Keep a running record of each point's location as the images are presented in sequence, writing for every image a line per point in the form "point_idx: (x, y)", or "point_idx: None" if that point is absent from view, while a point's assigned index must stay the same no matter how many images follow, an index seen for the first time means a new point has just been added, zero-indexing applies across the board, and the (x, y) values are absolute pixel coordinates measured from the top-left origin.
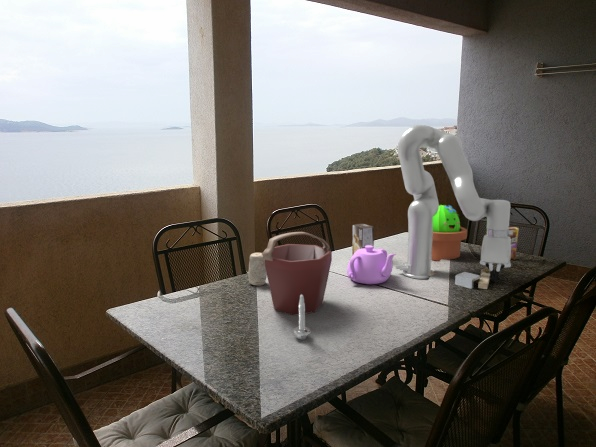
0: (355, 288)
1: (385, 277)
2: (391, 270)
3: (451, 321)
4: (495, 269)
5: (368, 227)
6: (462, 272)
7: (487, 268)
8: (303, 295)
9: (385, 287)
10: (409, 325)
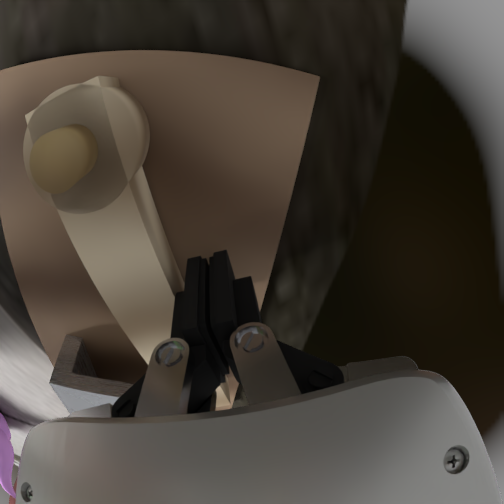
0: (15, 431)
1: (3, 428)
2: (8, 450)
3: None
4: (236, 380)
5: None
6: (57, 394)
7: (65, 183)
8: None
9: (22, 421)
10: None
